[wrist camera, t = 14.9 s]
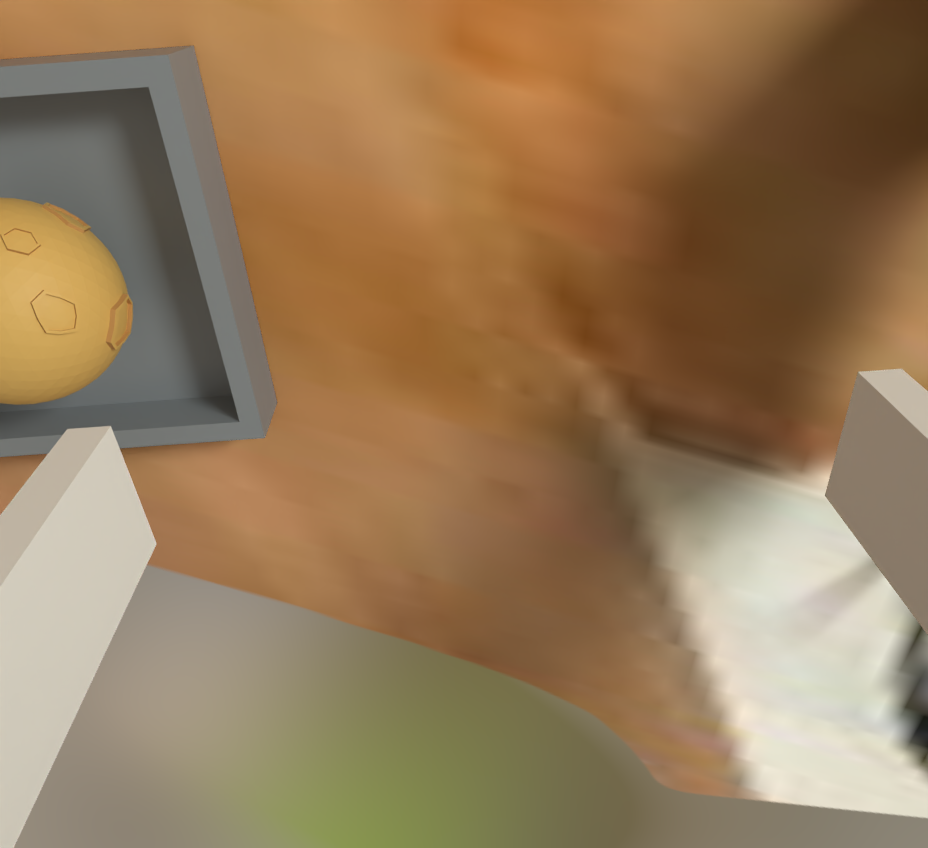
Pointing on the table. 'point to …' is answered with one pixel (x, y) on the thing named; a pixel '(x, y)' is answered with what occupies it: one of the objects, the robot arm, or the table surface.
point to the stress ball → (55, 303)
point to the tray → (140, 245)
